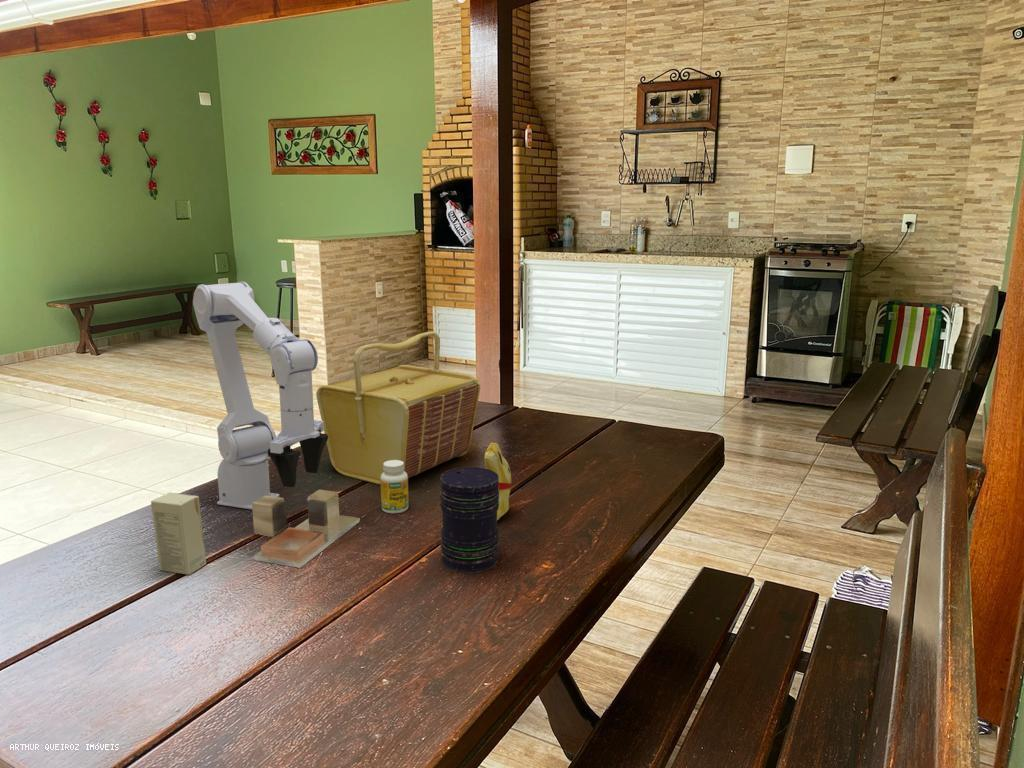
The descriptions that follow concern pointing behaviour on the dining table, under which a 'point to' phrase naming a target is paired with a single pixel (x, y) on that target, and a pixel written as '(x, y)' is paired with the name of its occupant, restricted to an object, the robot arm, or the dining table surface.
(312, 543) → the cream holder stand
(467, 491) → the storage jar
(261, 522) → the block
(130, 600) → the dining table surface
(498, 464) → the chocolate bunny
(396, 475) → the supplement bottle
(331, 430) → the picnic basket
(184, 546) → the skincare box
